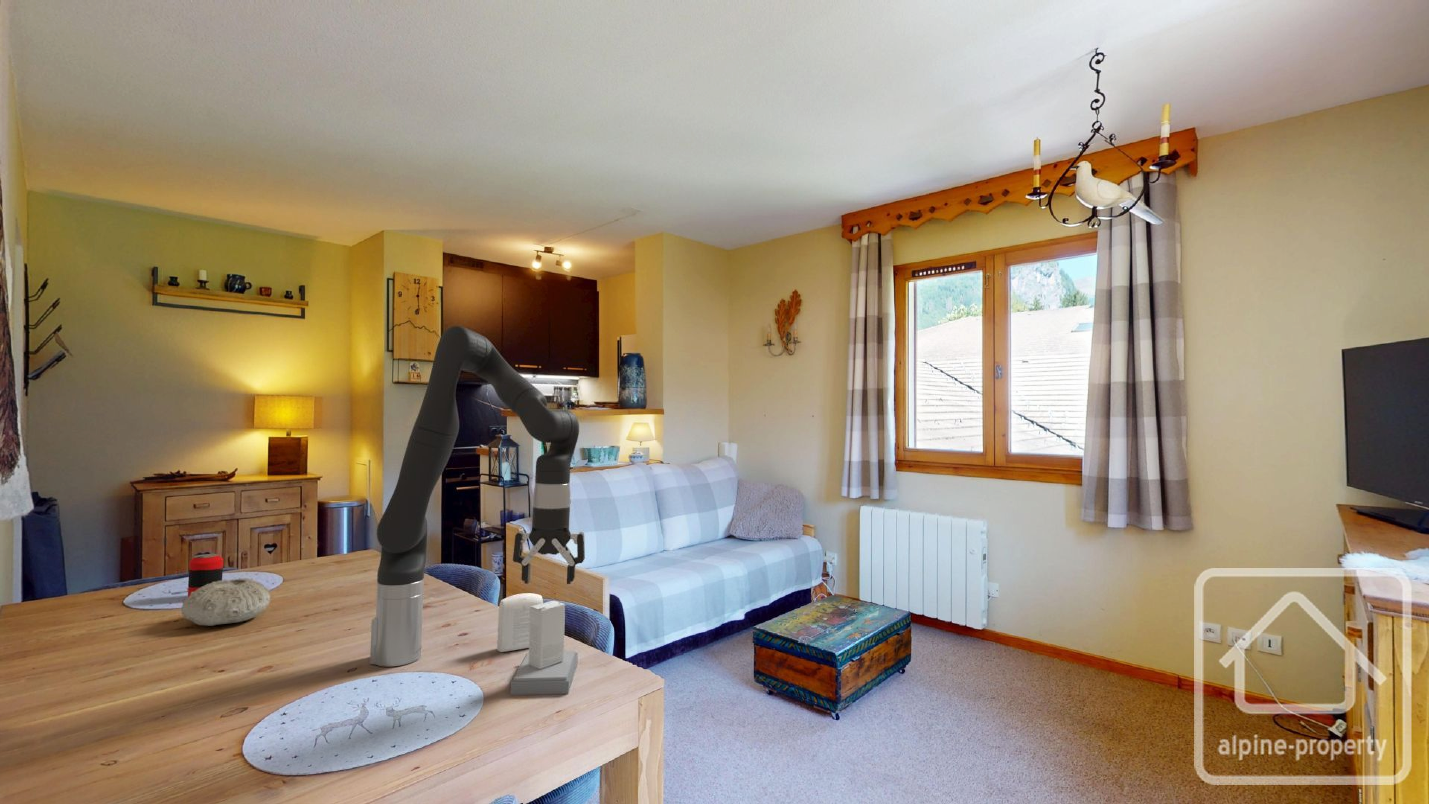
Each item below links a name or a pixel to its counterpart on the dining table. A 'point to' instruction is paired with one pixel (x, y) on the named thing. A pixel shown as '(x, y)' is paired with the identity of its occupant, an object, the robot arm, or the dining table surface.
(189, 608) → the decorative shell
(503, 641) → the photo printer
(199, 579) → the soda can
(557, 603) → the skincare box
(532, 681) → the slate stand
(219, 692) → the dining table surface
